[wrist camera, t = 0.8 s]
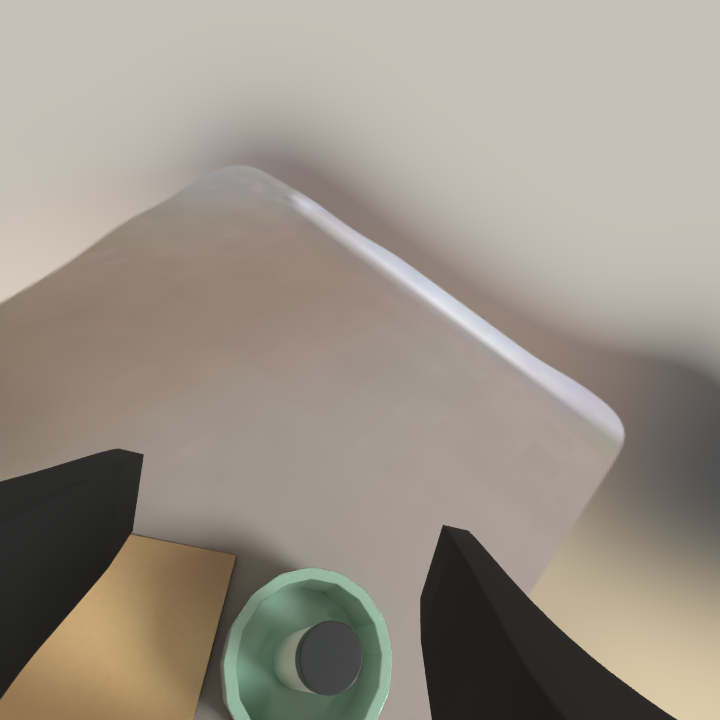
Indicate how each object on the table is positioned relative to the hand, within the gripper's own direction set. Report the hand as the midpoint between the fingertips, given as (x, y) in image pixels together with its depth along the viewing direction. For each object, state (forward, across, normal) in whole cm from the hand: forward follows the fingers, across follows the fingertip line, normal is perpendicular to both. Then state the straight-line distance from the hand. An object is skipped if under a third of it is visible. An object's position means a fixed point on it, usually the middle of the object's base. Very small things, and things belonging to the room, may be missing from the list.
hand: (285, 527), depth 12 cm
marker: (+9, -1, +13) cm, 16 cm away
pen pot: (+9, -1, +13) cm, 16 cm away
